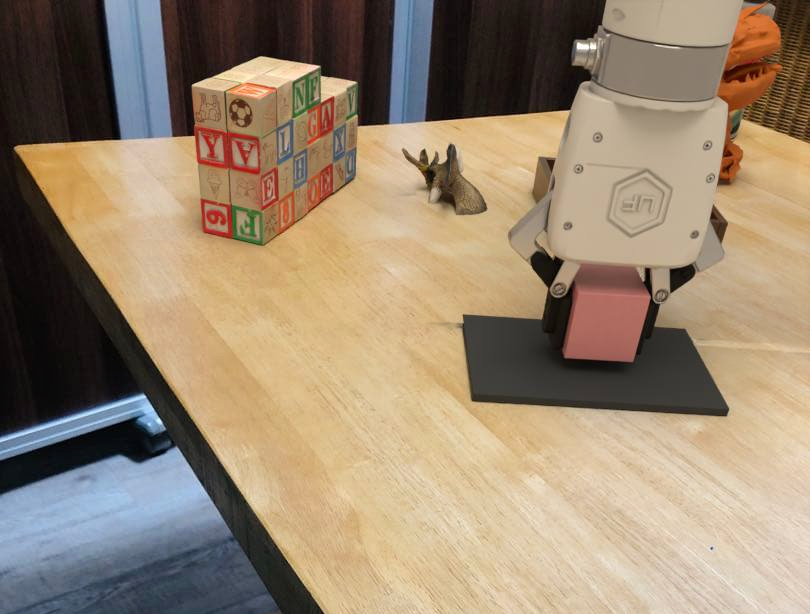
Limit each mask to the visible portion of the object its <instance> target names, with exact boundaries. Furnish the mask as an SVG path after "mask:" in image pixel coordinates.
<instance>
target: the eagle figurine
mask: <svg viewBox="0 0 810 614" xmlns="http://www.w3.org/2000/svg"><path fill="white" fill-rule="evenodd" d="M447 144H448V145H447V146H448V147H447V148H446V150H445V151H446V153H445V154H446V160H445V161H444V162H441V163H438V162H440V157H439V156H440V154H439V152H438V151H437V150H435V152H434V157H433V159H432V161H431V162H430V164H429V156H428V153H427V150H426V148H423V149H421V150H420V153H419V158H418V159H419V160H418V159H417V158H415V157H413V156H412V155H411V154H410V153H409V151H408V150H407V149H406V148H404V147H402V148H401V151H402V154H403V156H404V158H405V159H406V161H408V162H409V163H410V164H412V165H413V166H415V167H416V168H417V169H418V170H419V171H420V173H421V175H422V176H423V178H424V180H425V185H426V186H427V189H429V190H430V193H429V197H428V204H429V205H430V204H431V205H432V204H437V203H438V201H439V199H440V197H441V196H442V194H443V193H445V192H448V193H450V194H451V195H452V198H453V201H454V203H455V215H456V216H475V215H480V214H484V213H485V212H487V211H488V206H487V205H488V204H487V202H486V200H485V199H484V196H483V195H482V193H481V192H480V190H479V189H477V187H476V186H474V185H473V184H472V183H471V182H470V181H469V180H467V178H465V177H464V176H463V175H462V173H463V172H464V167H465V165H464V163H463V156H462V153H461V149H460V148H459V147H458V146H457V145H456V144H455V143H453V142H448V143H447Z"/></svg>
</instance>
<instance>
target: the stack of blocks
mask: <svg viewBox="0 0 810 614" xmlns="http://www.w3.org/2000/svg"><path fill="white" fill-rule="evenodd" d="M358 85H359V83H358V81H353V80H348V79H344V78H337V77H332V76H330V77H328V76H323V75H322V66H321V65H318V64H317V65H316V64H311V63H310V64H309V63H303V62H297V61H290V60H284V59H278V58H273V57H268V56H258V57H256V58H255V57H254V58H253V59H251V60H249V61H246V62H243V63H241V64H239V65H236V66H234V67H232V68H231V69H228V70H225V71H223V72H221V73H219V74H216V75H214V76H212V77H208V78H205V79H203V80H201V81H198V82H196V83H193V84H192V85H191V98H192V108H193V118H194V126H193V128H194V129H193V130H194V131H193V132H194V142H195V144H194V145H195V154H196V162H197V170H198V171H197V172H198V181H199V192H200V211H201V224H202V225H201V226H202V231H203V232H204V233H207V234H212V235H216V236H221V237H225V238H229V239H235V240H239V241H243V242H248V243H252V244H256V245H261V246H264V245H265V244H267V243H268V242H270V241H271V240H272V239H274V238H275V237H276V236H277V235H278V234H281V233H283V232H284V231H285V230H287V229H288V228H289V227H291V226H292V225H293V224H294V223H296V222H298V221H299V220H300V219H302V218H303V217H304V216H305V215H307V214H308V212H309V211H311V210H312V209H313V208H314V207H316V206H317V205H318V204H320V203H321V202H322V201H323V200H325V199H326V198H327V197H329V196H330V195H331V194H332V193H336V191H337V190H339V189H340V188H342V187H343V186H344V185H346V184H347V183H349V182H350V181H351V180H352V179H353V178H355V177H356V175H357V151H358V149H357V148H358V146H357V145H358V132H359V131H358V130H359V129H358V127H359V126H358V125H359V116H358V91H359V89H358V88H359V86H358Z"/></svg>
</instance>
